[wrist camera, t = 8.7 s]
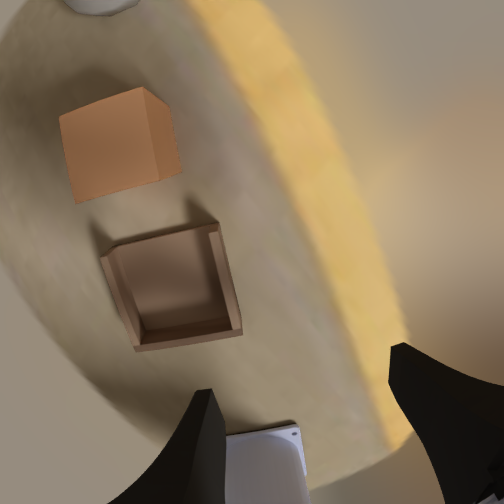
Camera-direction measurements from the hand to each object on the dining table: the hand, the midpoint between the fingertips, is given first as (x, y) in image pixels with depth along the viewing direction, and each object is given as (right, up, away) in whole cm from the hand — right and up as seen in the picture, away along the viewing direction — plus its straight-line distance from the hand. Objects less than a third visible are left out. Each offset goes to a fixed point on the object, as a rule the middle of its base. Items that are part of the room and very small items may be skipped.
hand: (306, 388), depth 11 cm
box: (-7, +3, +8) cm, 11 cm away
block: (-8, +11, +6) cm, 15 cm away
